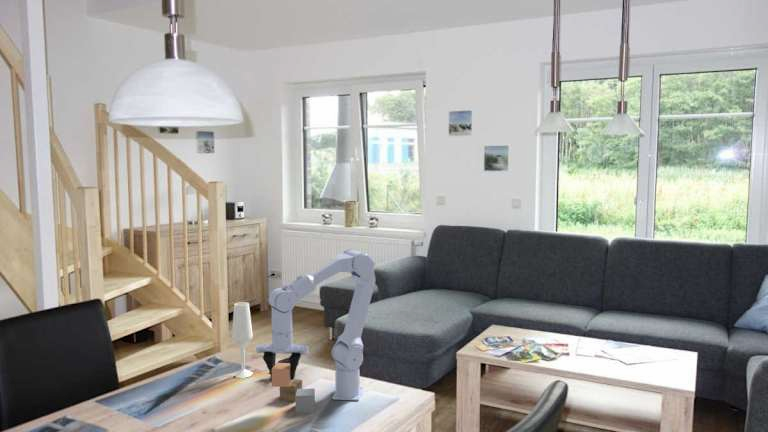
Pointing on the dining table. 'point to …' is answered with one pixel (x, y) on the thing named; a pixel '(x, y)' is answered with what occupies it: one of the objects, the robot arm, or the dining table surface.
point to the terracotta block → (281, 375)
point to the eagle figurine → (283, 362)
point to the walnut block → (290, 391)
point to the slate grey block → (305, 400)
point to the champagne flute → (242, 333)
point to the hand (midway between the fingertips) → (283, 378)
